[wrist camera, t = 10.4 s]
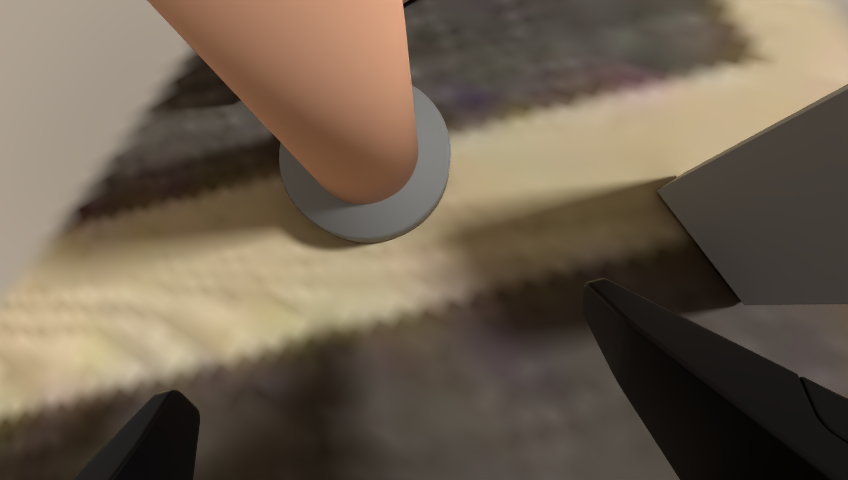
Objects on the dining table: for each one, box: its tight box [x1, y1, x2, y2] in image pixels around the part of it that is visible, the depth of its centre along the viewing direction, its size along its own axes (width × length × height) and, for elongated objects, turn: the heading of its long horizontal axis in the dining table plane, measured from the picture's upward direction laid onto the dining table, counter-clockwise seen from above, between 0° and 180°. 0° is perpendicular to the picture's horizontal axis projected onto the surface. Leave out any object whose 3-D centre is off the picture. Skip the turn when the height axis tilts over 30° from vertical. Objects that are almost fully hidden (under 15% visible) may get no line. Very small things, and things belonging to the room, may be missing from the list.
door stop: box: [147, 0, 451, 243], centre depth 10 cm, size 7×7×14 cm
